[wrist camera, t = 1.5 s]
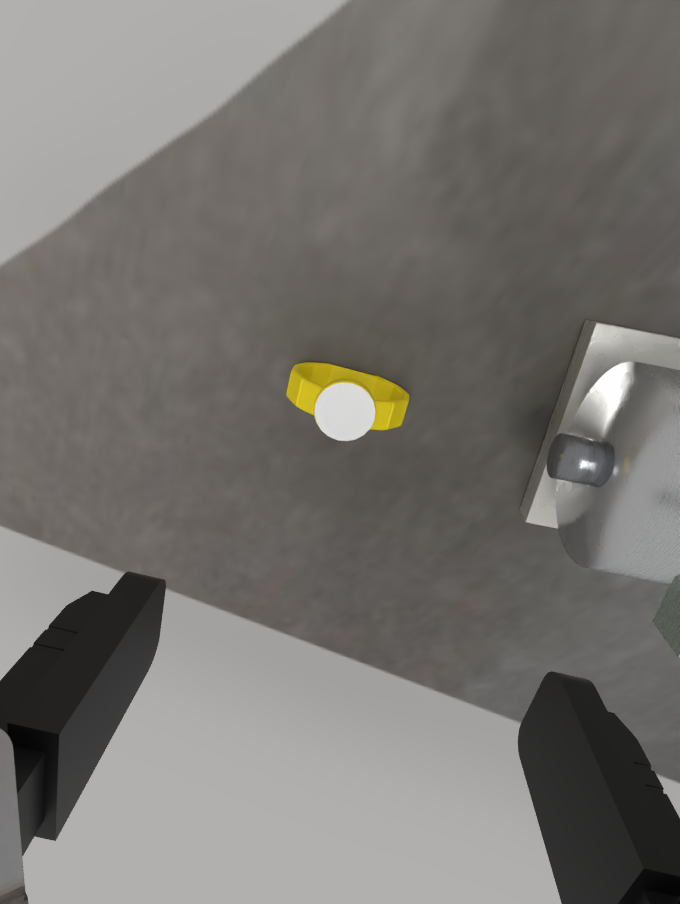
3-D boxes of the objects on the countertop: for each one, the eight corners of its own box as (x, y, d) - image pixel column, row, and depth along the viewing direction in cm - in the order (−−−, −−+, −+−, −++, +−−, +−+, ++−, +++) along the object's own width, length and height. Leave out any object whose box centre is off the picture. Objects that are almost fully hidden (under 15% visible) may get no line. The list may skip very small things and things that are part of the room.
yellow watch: (408, 369, 28) (422, 399, 22) (394, 416, 29) (405, 456, 23) (300, 343, 27) (288, 367, 22) (290, 392, 28) (275, 426, 23)
